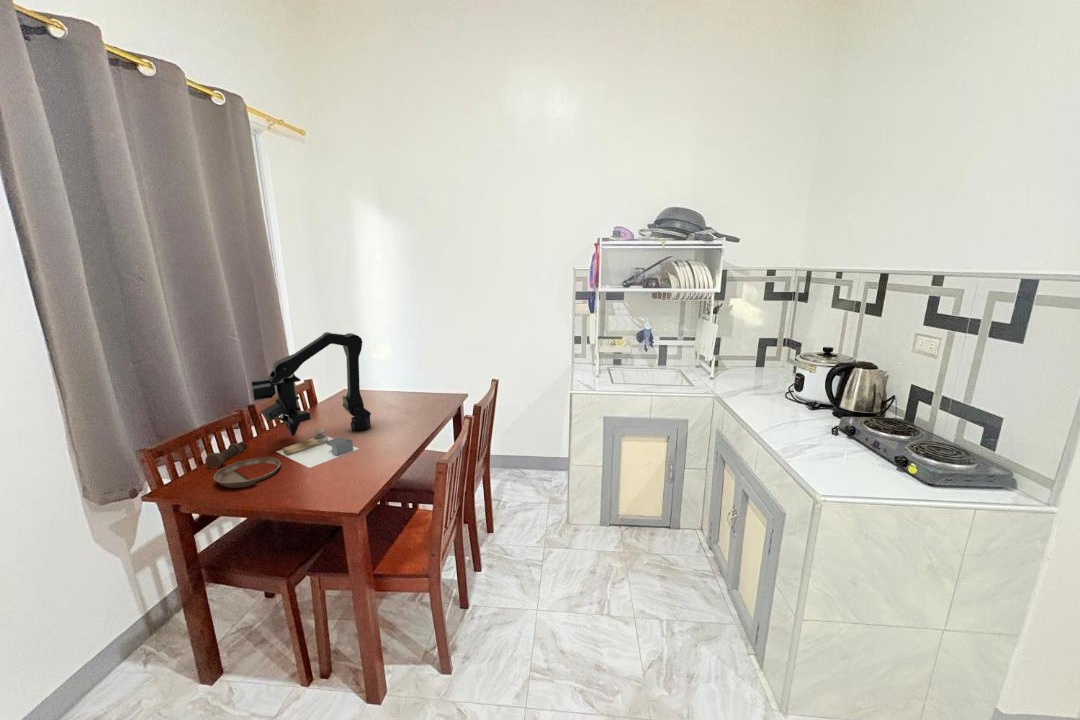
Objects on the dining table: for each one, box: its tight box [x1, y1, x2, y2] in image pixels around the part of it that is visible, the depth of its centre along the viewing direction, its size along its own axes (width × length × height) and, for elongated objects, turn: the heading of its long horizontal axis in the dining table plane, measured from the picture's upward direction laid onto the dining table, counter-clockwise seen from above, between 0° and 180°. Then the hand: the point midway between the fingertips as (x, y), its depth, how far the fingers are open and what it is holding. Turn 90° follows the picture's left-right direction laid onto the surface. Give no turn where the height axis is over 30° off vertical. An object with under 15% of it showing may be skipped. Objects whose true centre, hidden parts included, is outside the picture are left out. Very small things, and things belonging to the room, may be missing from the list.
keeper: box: [327, 436, 354, 457], centre depth 154 cm, size 6×7×4 cm
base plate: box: [275, 434, 360, 469], centre depth 156 cm, size 18×23×1 cm
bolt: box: [204, 441, 249, 468], centre depth 152 cm, size 6×5×15 cm
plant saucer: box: [213, 457, 281, 489], centre depth 139 cm, size 18×18×3 cm
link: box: [282, 428, 328, 455], centre depth 157 cm, size 15×4×4 cm, turn 145°
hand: (293, 435), depth 160 cm, fingers closed
